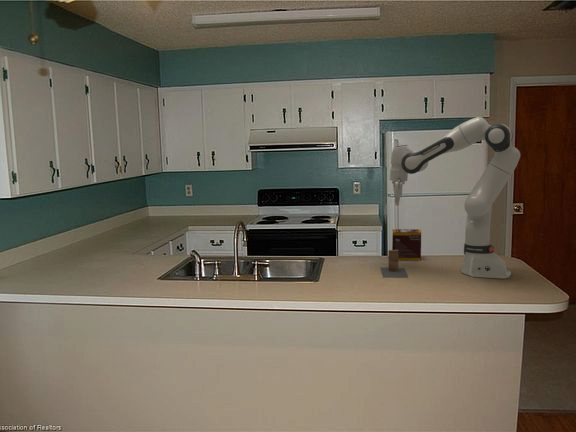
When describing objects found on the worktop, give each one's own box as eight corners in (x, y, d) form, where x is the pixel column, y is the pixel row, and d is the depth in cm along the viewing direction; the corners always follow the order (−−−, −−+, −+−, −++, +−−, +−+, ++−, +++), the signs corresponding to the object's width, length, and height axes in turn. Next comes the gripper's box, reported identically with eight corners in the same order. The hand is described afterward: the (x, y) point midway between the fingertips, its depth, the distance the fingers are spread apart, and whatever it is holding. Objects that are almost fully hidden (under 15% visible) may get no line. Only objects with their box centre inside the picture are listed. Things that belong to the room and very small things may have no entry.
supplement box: (421, 260, 279) (421, 232, 277) (392, 260, 282) (392, 232, 280) (420, 256, 289) (420, 229, 287) (392, 256, 292) (392, 228, 290)
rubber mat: (380, 268, 265) (380, 267, 265) (404, 268, 263) (404, 267, 263) (382, 278, 245) (382, 277, 245) (408, 278, 244) (408, 277, 244)
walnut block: (388, 269, 260) (388, 249, 259) (397, 269, 260) (397, 249, 258) (389, 271, 257) (389, 251, 255) (398, 271, 256) (398, 251, 255)
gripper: (405, 179, 253) (403, 207, 255) (404, 175, 273) (402, 201, 275) (392, 178, 254) (390, 206, 256) (392, 175, 274) (390, 201, 276)
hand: (396, 204), depth 266 cm, fingers open, 8 cm apart
